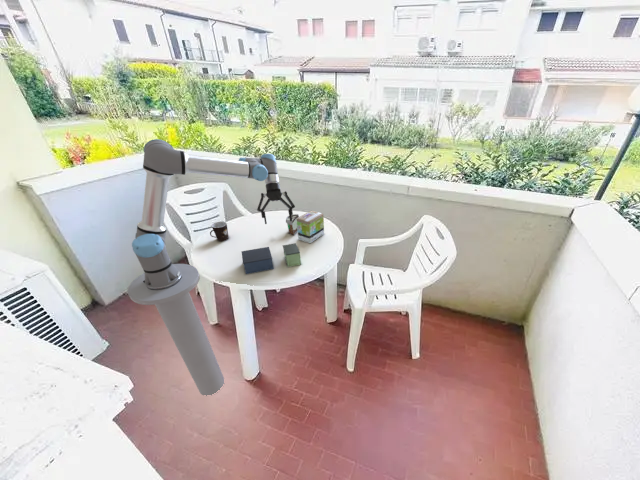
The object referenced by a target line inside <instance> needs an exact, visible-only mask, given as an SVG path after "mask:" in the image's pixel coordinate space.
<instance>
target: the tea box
mask: <svg viewBox="0 0 640 480" xmlns="http://www.w3.org/2000/svg"><path fill="white" fill-rule="evenodd" d="M324 217H325V216H324V213H322V212H319V211H315V210H310V211H307V212H306V213H304V214H302V215H300V216H299V217H298V218H297V230H298V231H297V240H299V241H301V242H304V243H308V244H311V243H313V242H314V241H316V240H317V239H319V238H321V237H322V236H324V235H325V222H324V219H325V218H324Z"/></svg>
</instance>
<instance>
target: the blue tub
mask: <svg viewBox="0 0 640 480" xmlns="http://www.w3.org/2000/svg"><path fill="white" fill-rule="evenodd" d="M240 252H241V259H242V265H243V268H244V272H245V274H246V275H249V274H255V273H259V272H265V271H269V270H274V264H273V263H274V262H273V256H272V253H271V249H270V247H269V246H264V247H259V248H254V249H248V250H242V251H240Z"/></svg>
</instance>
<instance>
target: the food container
mask: <svg viewBox="0 0 640 480" xmlns="http://www.w3.org/2000/svg"><path fill="white" fill-rule="evenodd" d="M298 217H300V216H299V214H297V213H296V214H294V213H293V215H291V218H292V221H290V218H289V215H288V216H287V217H286V218H285V224H287V225H286V226H287V229H288V233H289V235H292V236H295V235H296V234H297V233H298V230H297V218H298Z"/></svg>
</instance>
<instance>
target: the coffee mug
mask: <svg viewBox="0 0 640 480" xmlns="http://www.w3.org/2000/svg"><path fill="white" fill-rule="evenodd" d="M211 228H212V230H210V232H209V235H210V237H212V238H216V240H217V241H218V242H226V241H228V240H229V239H230V238H229V237H230V236H229V229H228V223H227V222H226V221H216V222H213V223H212V224H211ZM212 233H214V235H215V236H214V235H213V234H212Z"/></svg>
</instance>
